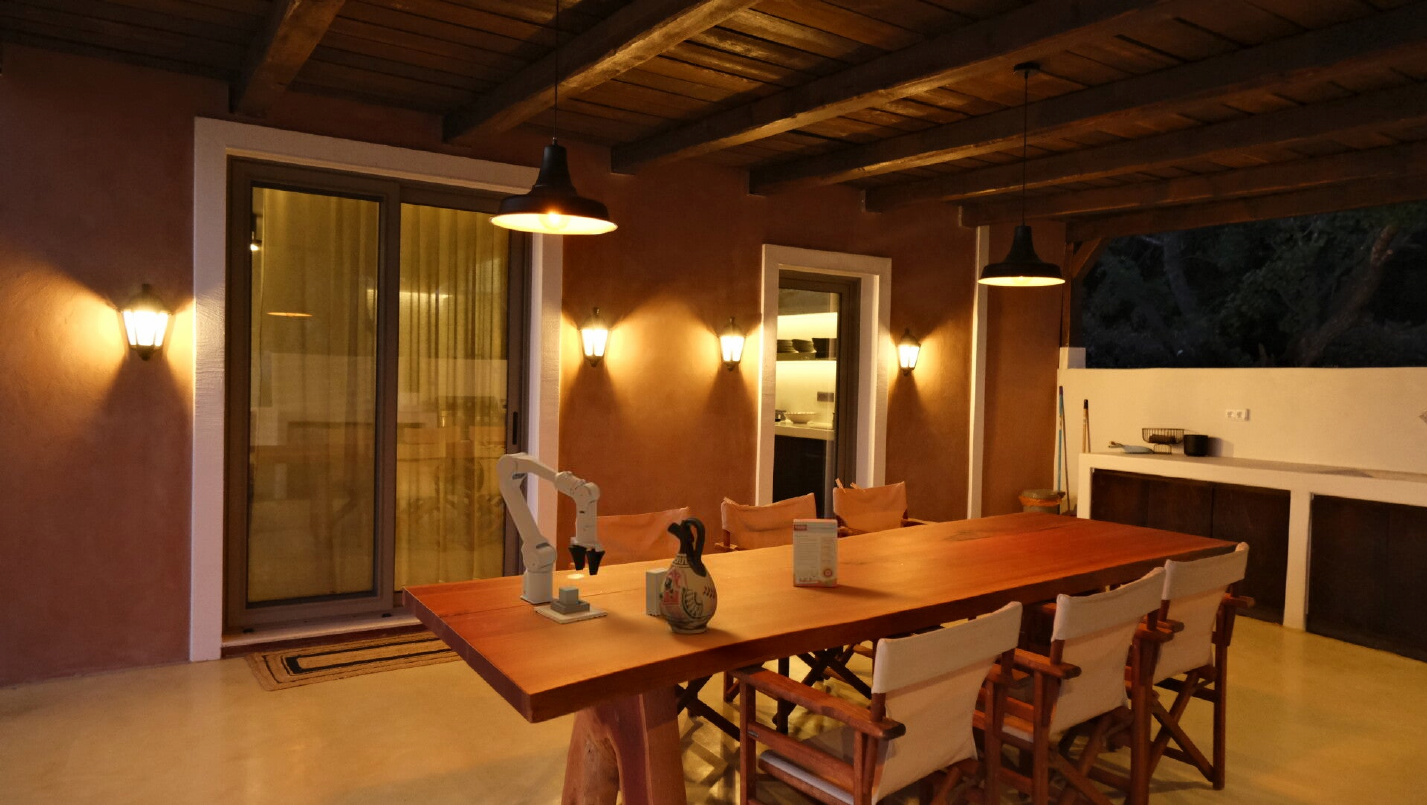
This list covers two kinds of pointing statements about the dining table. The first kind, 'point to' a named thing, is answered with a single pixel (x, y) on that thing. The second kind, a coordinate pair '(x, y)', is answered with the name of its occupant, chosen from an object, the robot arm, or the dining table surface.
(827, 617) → the dining table surface
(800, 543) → the cracker box
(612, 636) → the dining table surface
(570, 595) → the peg
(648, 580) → the skincare box
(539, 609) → the socket holder
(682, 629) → the ceramic jug
